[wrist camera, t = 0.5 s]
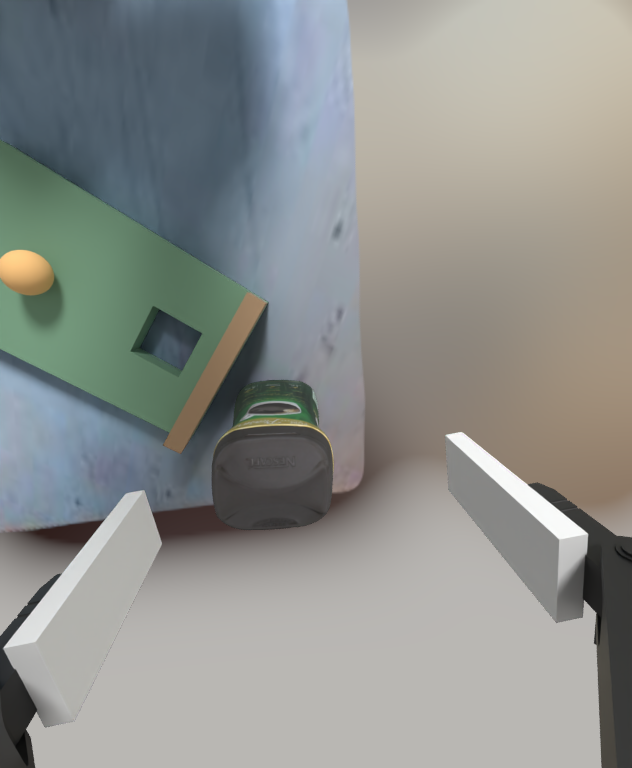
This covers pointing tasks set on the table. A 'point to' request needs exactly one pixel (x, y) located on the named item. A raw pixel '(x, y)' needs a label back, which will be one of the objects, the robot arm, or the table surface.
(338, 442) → the table surface
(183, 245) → the table surface
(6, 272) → the ball
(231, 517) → the coffee jar
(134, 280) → the putting board
